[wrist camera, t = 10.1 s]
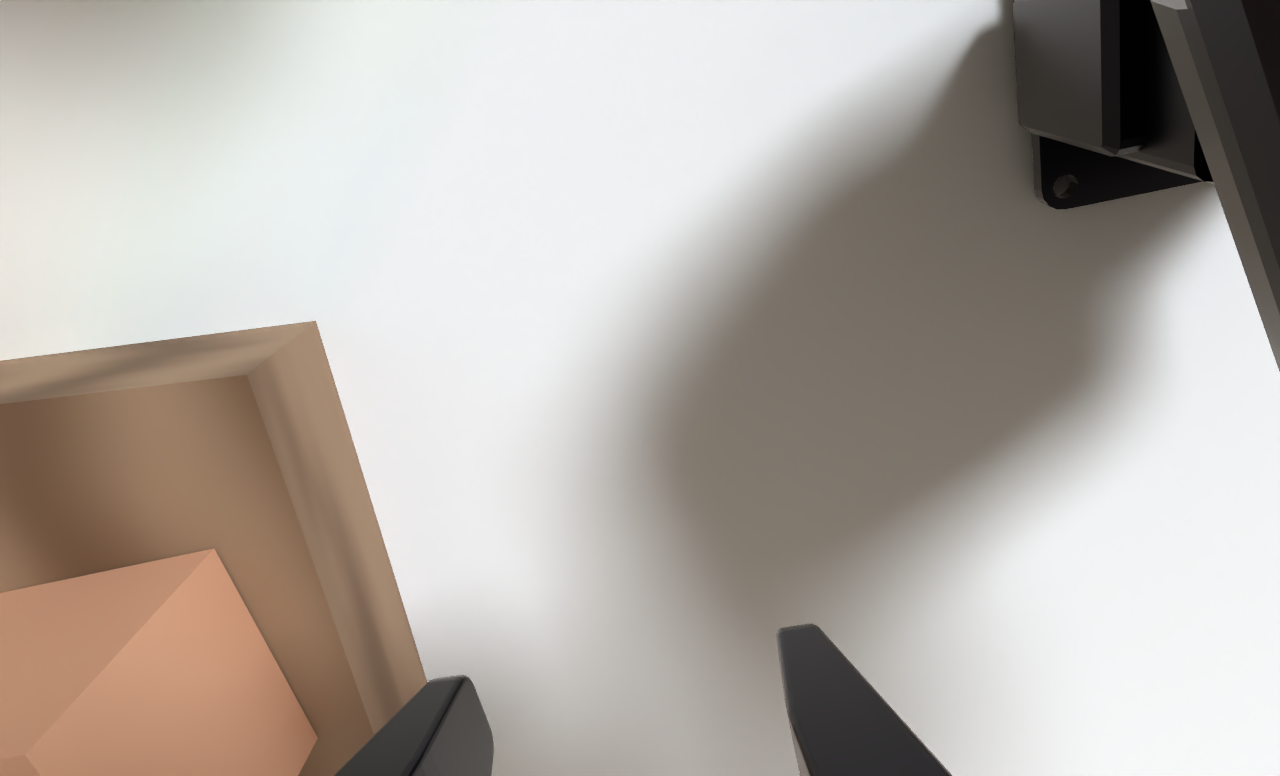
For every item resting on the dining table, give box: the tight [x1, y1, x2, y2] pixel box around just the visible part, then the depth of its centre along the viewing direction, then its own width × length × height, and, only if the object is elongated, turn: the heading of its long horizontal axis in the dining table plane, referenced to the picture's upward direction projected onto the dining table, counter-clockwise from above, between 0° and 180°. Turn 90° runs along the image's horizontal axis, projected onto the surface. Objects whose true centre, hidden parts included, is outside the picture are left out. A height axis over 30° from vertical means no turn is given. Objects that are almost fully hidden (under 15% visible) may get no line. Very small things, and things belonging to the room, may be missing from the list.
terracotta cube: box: [0, 549, 318, 776], centre depth 18 cm, size 6×6×6 cm
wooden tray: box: [0, 321, 427, 776], centre depth 23 cm, size 10×14×4 cm
